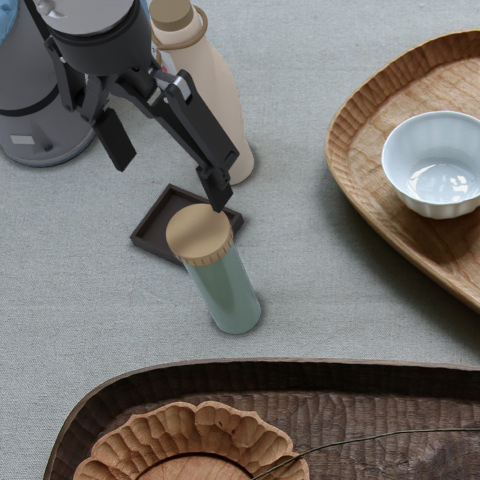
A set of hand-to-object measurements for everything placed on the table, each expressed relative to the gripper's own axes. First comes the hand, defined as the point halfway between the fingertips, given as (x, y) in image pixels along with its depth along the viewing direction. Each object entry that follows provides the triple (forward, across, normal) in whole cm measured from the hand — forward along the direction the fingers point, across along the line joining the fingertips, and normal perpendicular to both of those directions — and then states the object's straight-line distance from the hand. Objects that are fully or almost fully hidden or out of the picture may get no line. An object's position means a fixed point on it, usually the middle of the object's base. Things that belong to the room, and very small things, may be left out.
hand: (174, 181), depth 84 cm
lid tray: (+28, -13, +8) cm, 32 cm away
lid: (+9, 0, 0) cm, 9 cm away
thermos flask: (+28, 0, 0) cm, 28 cm away
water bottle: (+28, -14, +20) cm, 37 cm away
